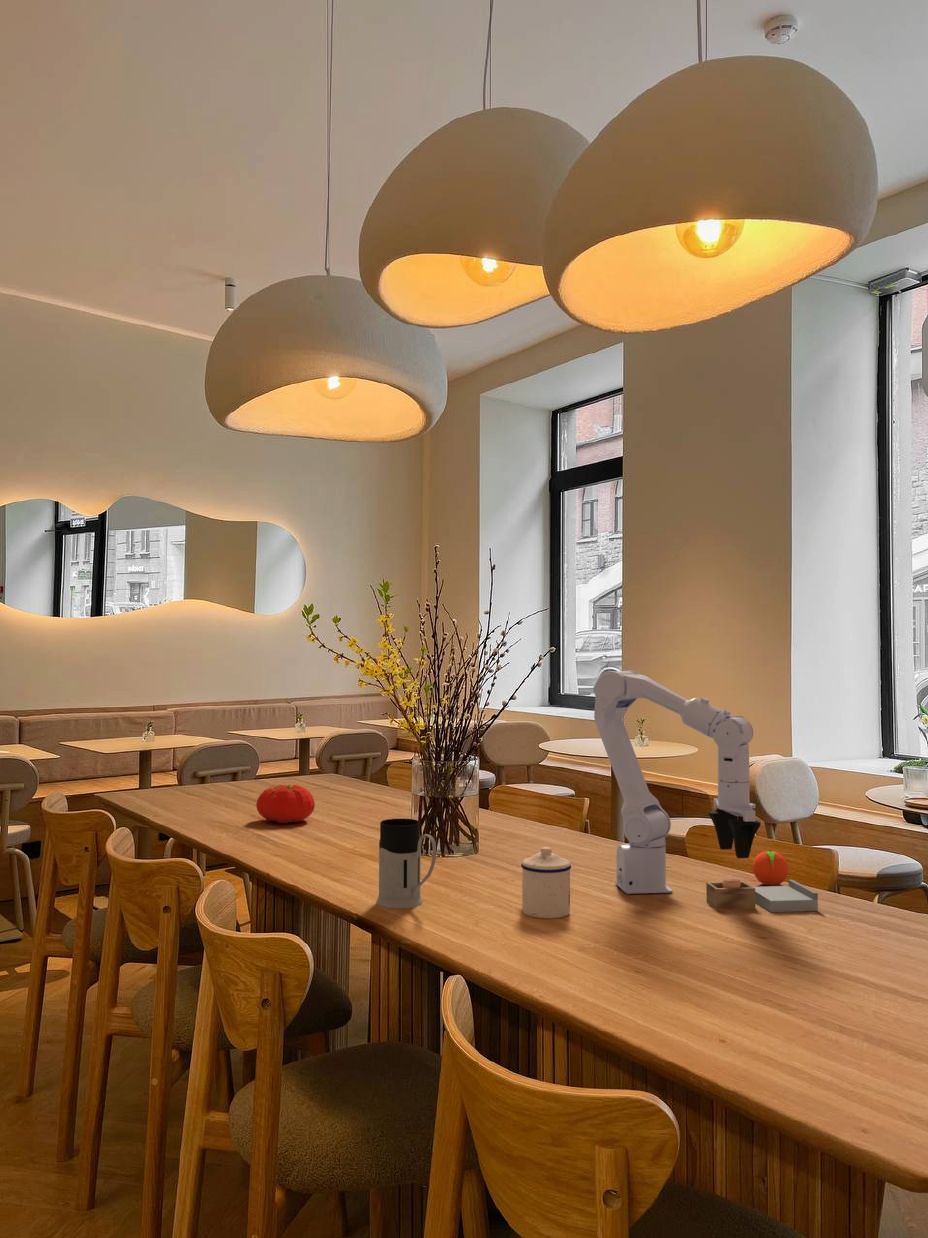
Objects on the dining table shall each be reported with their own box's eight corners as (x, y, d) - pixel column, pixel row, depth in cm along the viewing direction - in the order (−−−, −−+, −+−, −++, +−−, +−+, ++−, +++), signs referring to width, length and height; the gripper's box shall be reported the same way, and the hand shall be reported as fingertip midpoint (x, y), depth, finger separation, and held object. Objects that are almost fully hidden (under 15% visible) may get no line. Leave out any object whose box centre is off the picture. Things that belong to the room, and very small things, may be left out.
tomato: (265, 816, 261) (265, 782, 262) (321, 818, 260) (321, 783, 260) (248, 826, 247) (249, 789, 248) (307, 827, 246) (307, 790, 246)
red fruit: (791, 892, 181) (791, 855, 181) (755, 890, 182) (754, 854, 182) (785, 882, 188) (785, 847, 189) (750, 880, 190) (750, 845, 190)
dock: (770, 911, 166) (770, 894, 167) (748, 897, 176) (747, 880, 176) (817, 910, 167) (817, 892, 168) (792, 896, 177) (792, 879, 177)
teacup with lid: (581, 915, 164) (581, 850, 164) (538, 922, 159) (538, 855, 160) (544, 899, 174) (544, 838, 175) (503, 905, 170) (503, 842, 171)
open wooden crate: (715, 910, 168) (715, 889, 168) (706, 903, 173) (706, 882, 173) (755, 909, 169) (755, 888, 169) (744, 902, 174) (744, 881, 174)
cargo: (726, 893, 169) (726, 882, 169) (720, 888, 172) (719, 878, 172) (743, 892, 169) (742, 881, 170) (736, 888, 173) (736, 877, 173)
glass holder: (402, 893, 178) (402, 816, 179) (452, 907, 168) (452, 826, 169) (366, 901, 172) (367, 821, 173) (416, 917, 162) (417, 832, 163)
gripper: (771, 786, 166) (771, 861, 165) (737, 775, 180) (738, 844, 180) (734, 786, 165) (734, 862, 165) (703, 775, 179) (703, 845, 179)
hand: (734, 853), depth 172 cm, fingers open, 7 cm apart
